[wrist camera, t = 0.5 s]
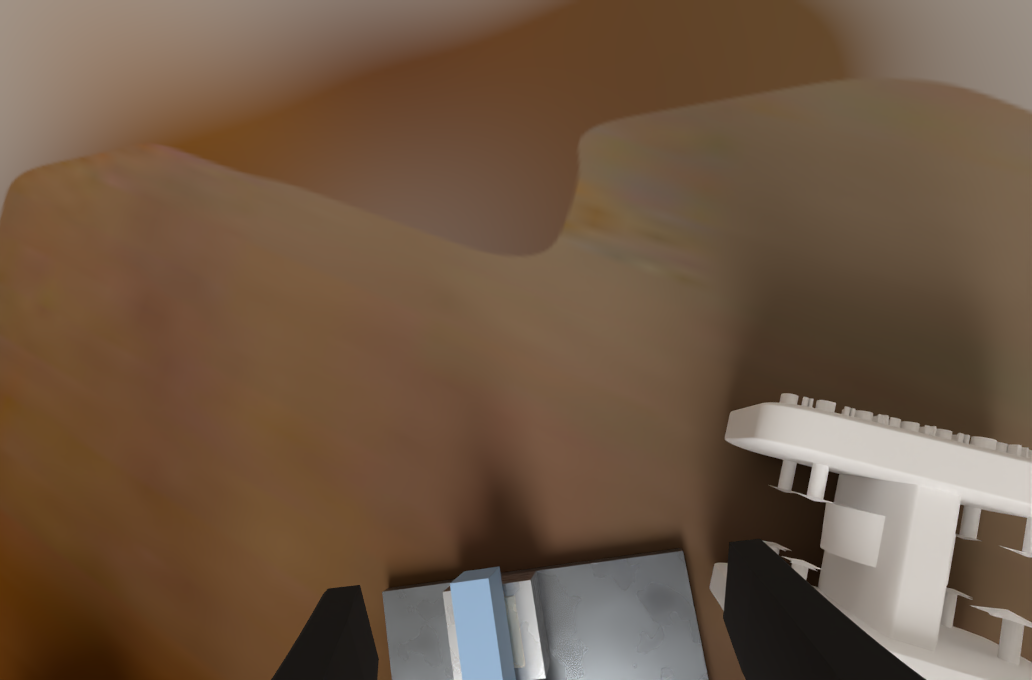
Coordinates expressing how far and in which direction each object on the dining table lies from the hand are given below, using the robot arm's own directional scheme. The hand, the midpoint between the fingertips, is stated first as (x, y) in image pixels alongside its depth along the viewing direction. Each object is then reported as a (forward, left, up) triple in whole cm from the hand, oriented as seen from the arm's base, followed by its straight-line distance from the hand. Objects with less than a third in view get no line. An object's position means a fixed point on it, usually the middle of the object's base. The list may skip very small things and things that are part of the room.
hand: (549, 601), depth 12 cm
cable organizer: (-4, -13, -26) cm, 30 cm away
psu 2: (-6, +7, -26) cm, 28 cm away
